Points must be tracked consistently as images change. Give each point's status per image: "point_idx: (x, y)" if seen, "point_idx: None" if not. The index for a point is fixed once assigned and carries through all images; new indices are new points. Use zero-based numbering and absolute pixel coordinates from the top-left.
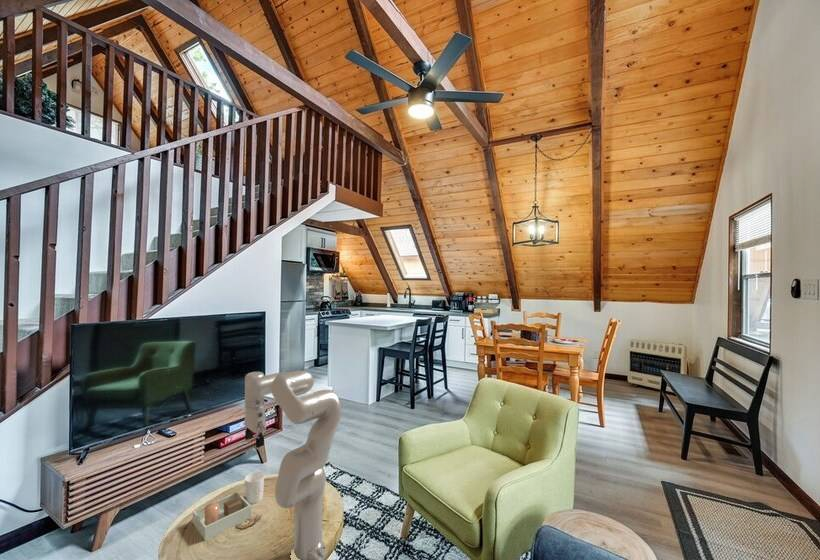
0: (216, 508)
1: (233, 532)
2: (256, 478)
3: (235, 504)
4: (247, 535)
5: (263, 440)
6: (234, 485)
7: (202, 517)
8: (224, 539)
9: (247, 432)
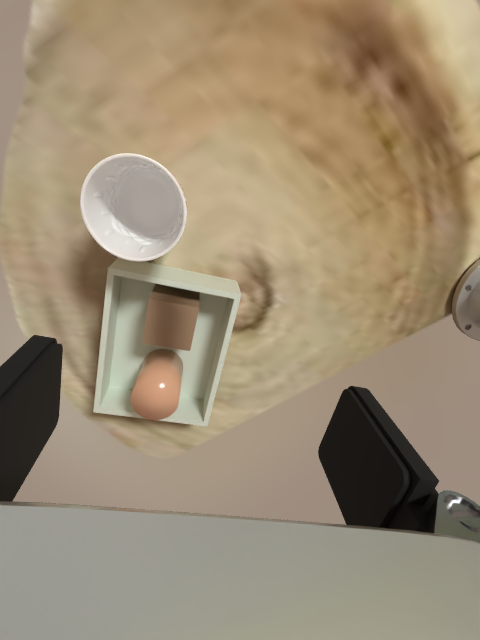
0: (178, 397)
1: (246, 347)
2: (109, 172)
3: (190, 327)
4: (293, 333)
5: (394, 433)
6: None
7: (110, 370)
8: (248, 373)
9: (7, 495)
